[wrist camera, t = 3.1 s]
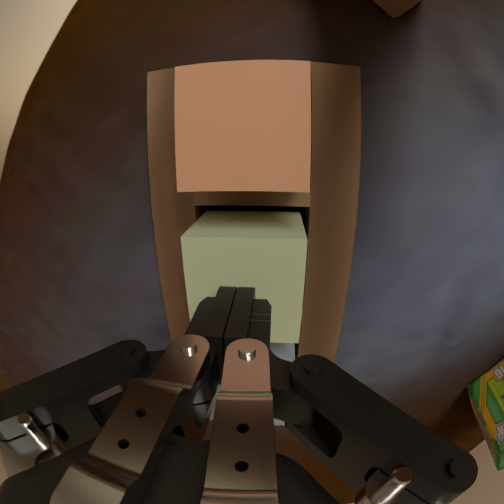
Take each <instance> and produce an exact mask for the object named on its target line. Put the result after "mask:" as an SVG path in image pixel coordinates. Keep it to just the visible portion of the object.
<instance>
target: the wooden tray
mask: <svg viewBox="0 0 504 504" xmlns="http://www.w3.org/2000/svg"><path fill="white" fill-rule="evenodd" d="M310 76H311V166H310V193H308V192H274V191H197V192H177V179H176V157H175V112H174V92H175V68H169V69H163V70H157V71H152V72H148V78H147V135H148V161H149V178H150V192H151V204H152V215H153V225H154V235H155V243H156V251H157V259H158V266H159V273H160V280H161V287H162V293H163V299H164V305H165V311H166V316H167V322H168V327H169V332H170V337H171V342H172V341H173V340H174V339H175V338H177V337H179V336H182V335H184V334H185V332H186V330H187V328H188V326H189V324H190V317H189V310H188V302H187V294H186V285H185V277H184V268H183V258H182V248H181V236H182V235H183V234H184V233H185V232H186V231H187V230H188V229H189V228H190V227H191V226H192V225H193V224H194V223H195V222H196V221H197V220H198V219H199V218H200V217H201V216H202V215H203V214H204V213H205V212H206V211H208V205H250V206H296V207H305V219H304V229H305V232H306V236H307V255H306V269H305V282H304V294H303V306H302V316H301V326H300V336H299V343H295V359H296V358H298V357H300V356H303V355H308V354H315V355H320V356H323V357H325V358H327V359H329V360H330V361H332V362H333V363H334V361H335V356H336V351H337V347H338V342H339V337H340V332H341V326H342V321H343V316H344V310H345V304H346V298H347V292H348V285H349V278H350V271H351V264H352V256H353V248H354V239H355V230H356V220H357V209H358V196H359V180H360V160H361V77H360V67H358V66H350V65H342V64H333V63H321V62H310Z"/></svg>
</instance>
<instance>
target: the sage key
mask: <svg viewBox="0 0 504 504" xmlns="http://www.w3.org/2000/svg"><path fill="white" fill-rule="evenodd" d="M181 248H182V258H183V268H184V277H185V285H186V294H187V302H188V310H189V317H190V321H191V319H192V317H193V315H194V313H195V311H196V309H197V306H198V304H199V302H201V301H202V300H203V299H205V298H206V297H215V296H216V294H217V291H218V289H219V286H231V287H237V288H238V287H255V299H267V300H268V302H269V303H270V305H271V306H272V308H271V335H270V342H271V343H299V336H300V326H301V316H302V306H303V294H304V282H305V269H306V255H307V236H306V232H305V229H304V225H303V222H302V218H301V215H300V212H278V211H206V212H205V213H204V214H203V215H202V216H201V217H200V218H199V219H198V220H197V221H196V222H195V223H194V224H193V225H192V226H191V227H190V228H189V229H188V230H187V231H186V232H185V233H184V234H183V235H182V236H181Z"/></svg>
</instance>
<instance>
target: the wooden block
mask: <svg viewBox="0 0 504 504" xmlns="http://www.w3.org/2000/svg"><path fill="white" fill-rule="evenodd" d="M372 1H374V2H375V3H376V4H377V5H378V6H379V7H380V8H381V9H383V10H384V11H385V12H386V13H387V14H388V15H389V16H390V17H392V18H397V17H399V16H400V15H402V14H403V13H405V12H406V11H407V10H409V9H410V8H412V7H413V6H415V5H416V4H418V3H419V2H421V1H422V0H372Z"/></svg>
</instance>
